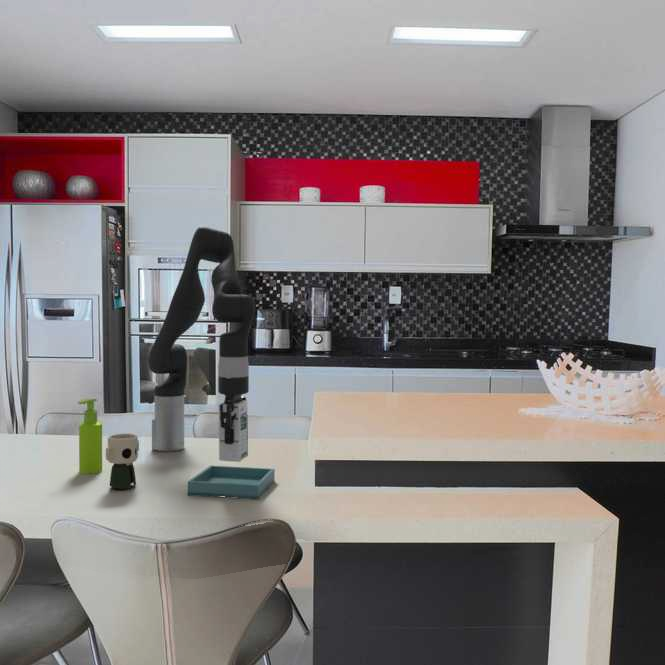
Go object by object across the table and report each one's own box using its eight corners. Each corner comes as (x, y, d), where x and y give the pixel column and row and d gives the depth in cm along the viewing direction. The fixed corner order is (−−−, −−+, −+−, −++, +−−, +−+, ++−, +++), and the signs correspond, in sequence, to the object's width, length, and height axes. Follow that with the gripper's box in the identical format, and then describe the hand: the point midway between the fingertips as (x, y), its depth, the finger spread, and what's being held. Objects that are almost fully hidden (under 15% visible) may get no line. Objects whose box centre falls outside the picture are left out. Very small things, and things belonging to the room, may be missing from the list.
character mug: (117, 495, 150) (117, 441, 150) (95, 491, 153) (95, 438, 153) (149, 483, 160) (149, 433, 159) (127, 480, 163) (127, 430, 162)
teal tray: (187, 495, 151) (187, 481, 151) (210, 477, 166) (210, 465, 166) (258, 499, 148) (258, 485, 148) (274, 481, 164) (274, 468, 164)
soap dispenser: (71, 473, 169) (71, 400, 168) (89, 467, 175) (89, 396, 174) (89, 475, 167) (89, 401, 166) (106, 469, 173) (106, 397, 172)
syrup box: (240, 462, 154) (240, 403, 153) (217, 460, 155) (218, 402, 154) (248, 456, 159) (248, 400, 159) (226, 455, 160) (226, 399, 160)
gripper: (228, 370, 164) (228, 434, 165) (209, 377, 150) (208, 446, 150) (256, 371, 163) (255, 435, 163) (239, 378, 148) (239, 448, 149)
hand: (233, 440), depth 157 cm, fingers closed on syrup box, 5 cm apart
